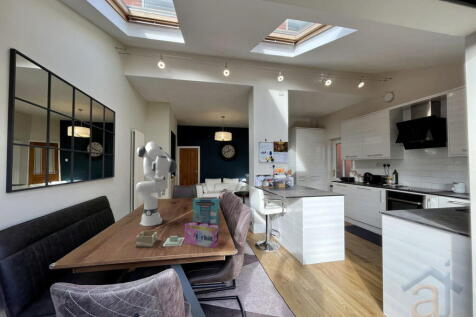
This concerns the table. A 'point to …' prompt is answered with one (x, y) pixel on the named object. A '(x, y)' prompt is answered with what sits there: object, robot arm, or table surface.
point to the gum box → (201, 234)
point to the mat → (174, 245)
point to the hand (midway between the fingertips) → (161, 196)
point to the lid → (173, 240)
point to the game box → (206, 210)
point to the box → (146, 238)
